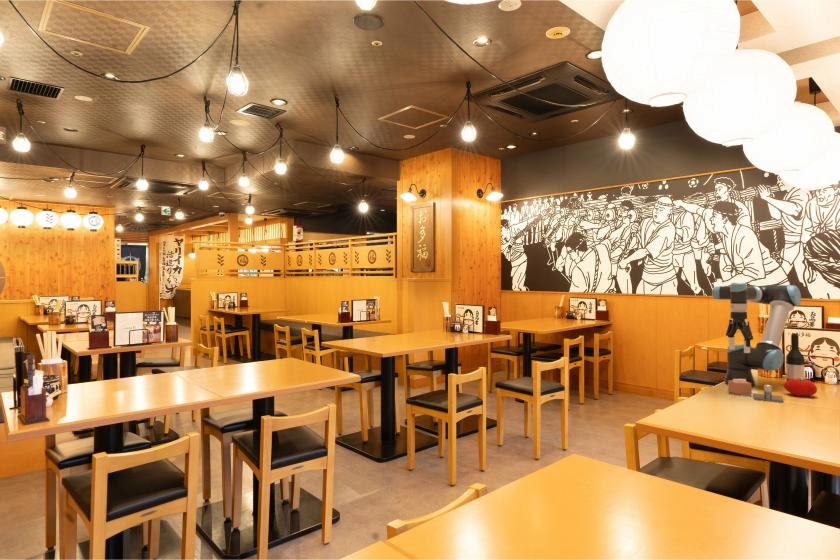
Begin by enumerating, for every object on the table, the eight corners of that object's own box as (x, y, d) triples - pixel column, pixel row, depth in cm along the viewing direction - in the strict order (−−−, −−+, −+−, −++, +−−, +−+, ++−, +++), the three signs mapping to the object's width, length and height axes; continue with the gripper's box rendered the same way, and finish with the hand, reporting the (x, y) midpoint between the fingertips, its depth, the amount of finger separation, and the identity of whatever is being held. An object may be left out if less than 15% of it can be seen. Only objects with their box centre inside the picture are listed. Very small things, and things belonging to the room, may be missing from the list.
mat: (728, 390, 270) (728, 389, 270) (750, 392, 265) (750, 391, 265) (728, 394, 262) (728, 393, 262) (751, 396, 257) (751, 395, 257)
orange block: (742, 390, 267) (742, 377, 267) (751, 394, 260) (751, 380, 260) (728, 390, 268) (728, 377, 268) (736, 393, 260) (736, 380, 260)
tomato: (819, 395, 258) (819, 378, 258) (815, 399, 249) (815, 382, 249) (787, 391, 268) (787, 375, 268) (782, 395, 259) (782, 378, 259)
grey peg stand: (753, 395, 260) (753, 381, 260) (781, 397, 253) (781, 384, 253) (754, 399, 249) (754, 386, 249) (783, 402, 243) (783, 388, 243)
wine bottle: (808, 387, 278) (807, 334, 278) (793, 387, 278) (792, 334, 278) (797, 384, 286) (796, 332, 286) (782, 384, 286) (782, 332, 286)
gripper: (718, 310, 277) (719, 348, 276) (745, 312, 252) (746, 354, 251) (732, 310, 276) (732, 348, 276) (760, 312, 251) (761, 354, 251)
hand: (739, 351), depth 264 cm, fingers open, 13 cm apart
